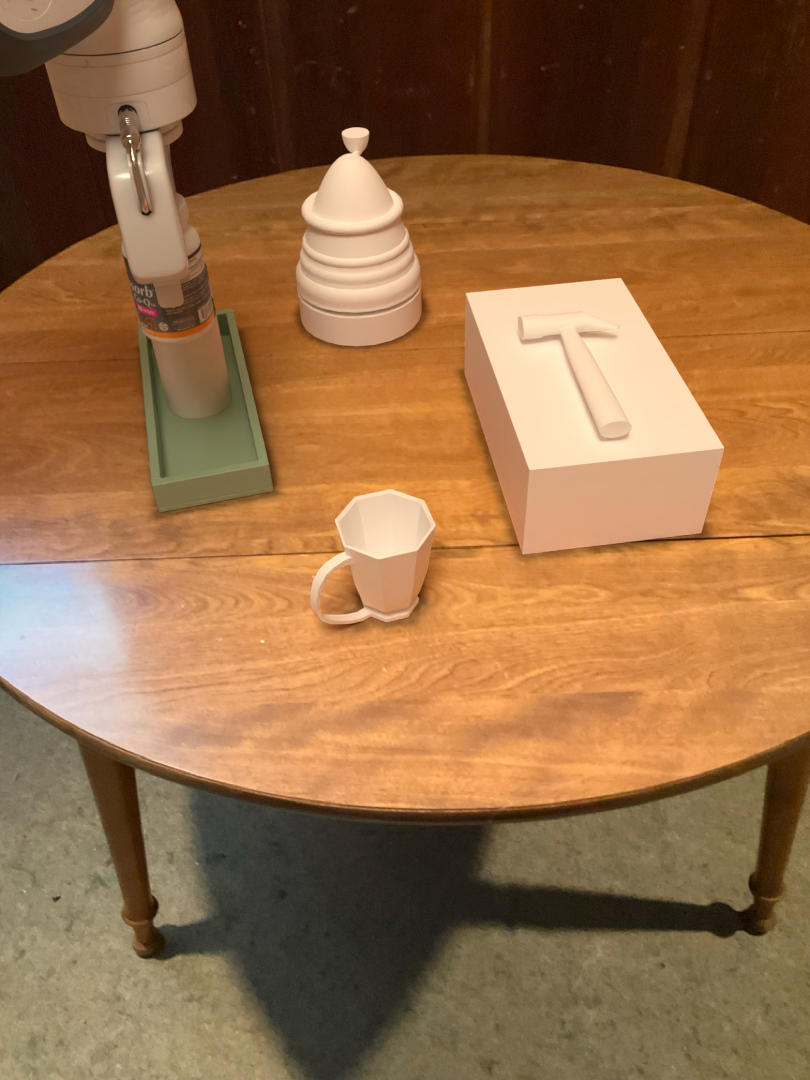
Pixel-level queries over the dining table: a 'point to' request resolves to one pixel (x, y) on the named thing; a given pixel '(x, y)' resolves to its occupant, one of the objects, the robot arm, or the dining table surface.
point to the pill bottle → (197, 305)
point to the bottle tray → (204, 435)
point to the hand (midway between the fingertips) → (168, 278)
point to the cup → (380, 555)
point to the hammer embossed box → (586, 417)
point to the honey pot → (357, 256)
